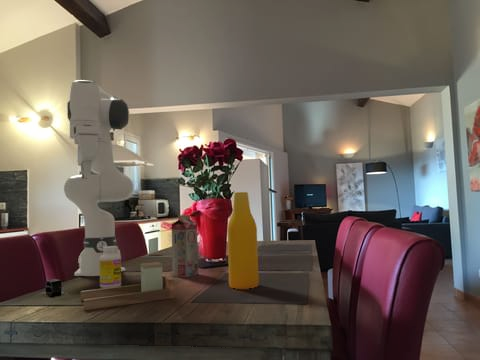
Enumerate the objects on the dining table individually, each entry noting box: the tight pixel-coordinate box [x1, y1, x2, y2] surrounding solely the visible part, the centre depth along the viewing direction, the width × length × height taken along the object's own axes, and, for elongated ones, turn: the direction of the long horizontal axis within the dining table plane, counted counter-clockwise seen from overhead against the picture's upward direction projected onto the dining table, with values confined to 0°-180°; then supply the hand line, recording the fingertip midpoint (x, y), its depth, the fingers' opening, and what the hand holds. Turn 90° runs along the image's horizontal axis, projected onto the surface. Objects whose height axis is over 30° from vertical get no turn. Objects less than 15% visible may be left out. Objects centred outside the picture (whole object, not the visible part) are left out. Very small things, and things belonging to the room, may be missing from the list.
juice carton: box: [171, 214, 199, 278], centre depth 142 cm, size 7×7×22 cm
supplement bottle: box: [99, 245, 122, 289], centre depth 125 cm, size 7×7×13 cm
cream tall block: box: [139, 261, 164, 292], centre depth 110 cm, size 5×5×9 cm
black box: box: [38, 278, 69, 298], centre depth 117 cm, size 12×7×5 cm, turn 52°
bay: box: [80, 272, 175, 311], centre depth 107 cm, size 12×23×5 cm, turn 116°
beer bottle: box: [227, 191, 260, 290], centre depth 119 cm, size 9×9×29 cm
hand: (86, 178), depth 115 cm, fingers open, 8 cm apart
